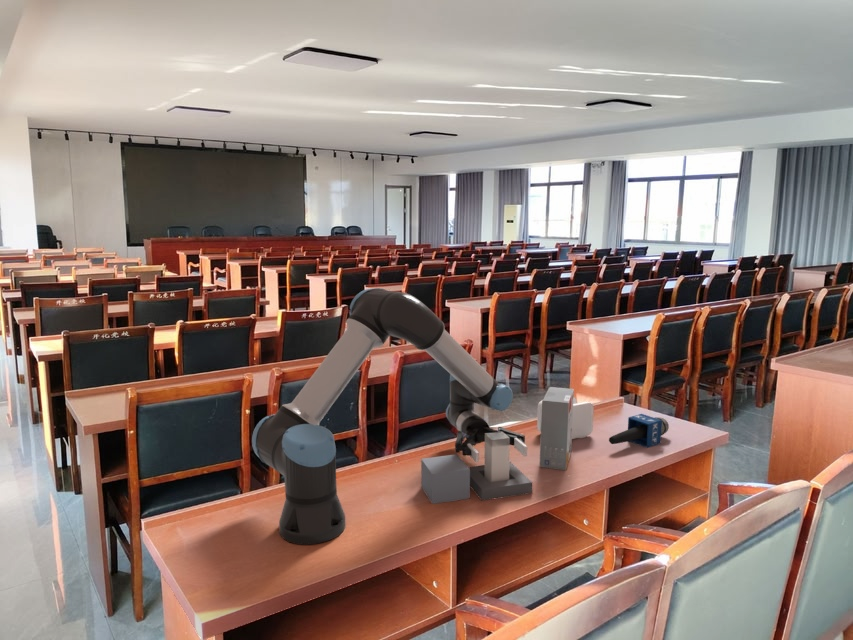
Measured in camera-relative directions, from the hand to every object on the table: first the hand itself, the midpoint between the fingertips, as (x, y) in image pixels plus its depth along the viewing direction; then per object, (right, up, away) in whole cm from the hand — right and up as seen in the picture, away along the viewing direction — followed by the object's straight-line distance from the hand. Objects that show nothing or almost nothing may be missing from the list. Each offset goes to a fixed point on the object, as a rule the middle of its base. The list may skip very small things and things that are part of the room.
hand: (502, 454), depth 159 cm
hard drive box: (+19, -6, +22) cm, 29 cm away
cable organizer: (+25, -3, +41) cm, 48 cm away
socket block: (-1, -9, +5) cm, 11 cm away
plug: (-1, -9, +5) cm, 11 cm away
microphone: (+47, -4, +33) cm, 58 cm away
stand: (-15, -10, +1) cm, 18 cm away
